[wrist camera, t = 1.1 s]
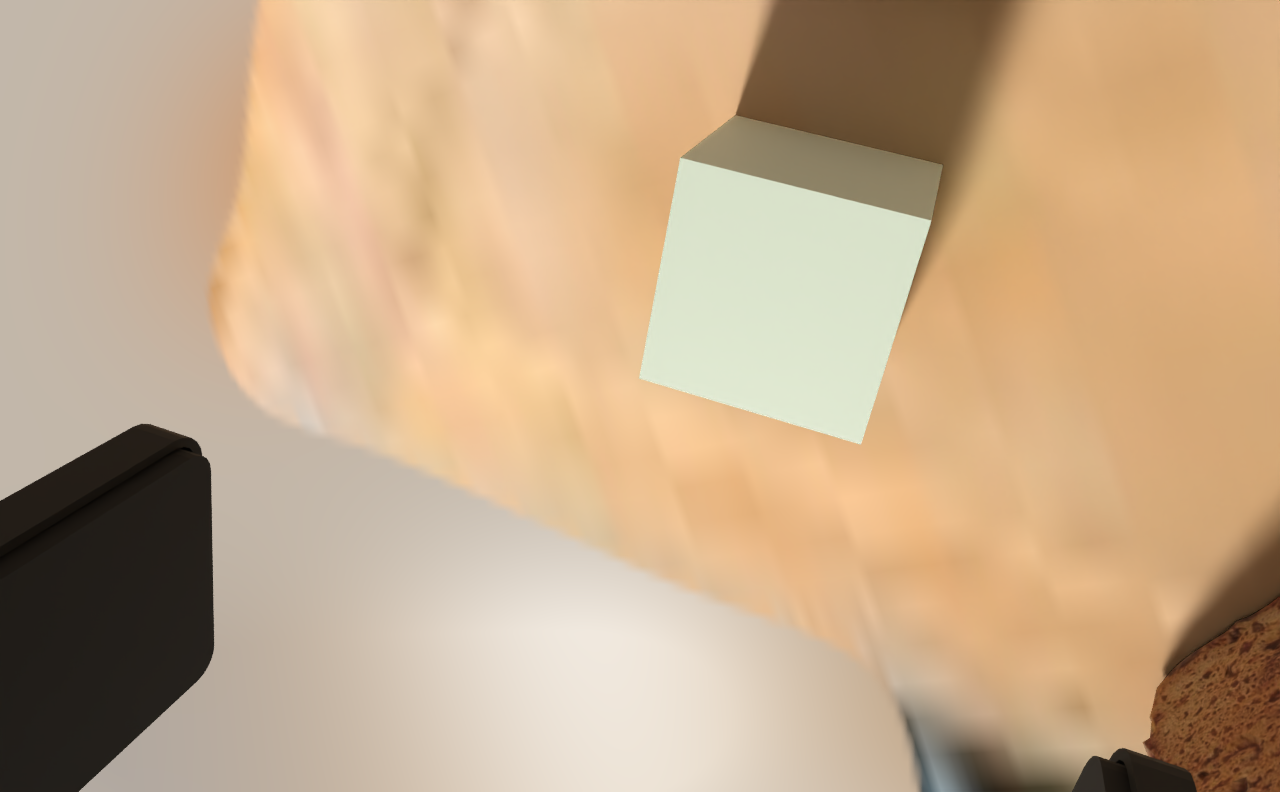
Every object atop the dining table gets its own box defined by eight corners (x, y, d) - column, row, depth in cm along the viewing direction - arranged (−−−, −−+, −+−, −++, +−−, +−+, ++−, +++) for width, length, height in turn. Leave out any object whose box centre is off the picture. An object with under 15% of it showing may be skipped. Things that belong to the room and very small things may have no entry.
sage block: (735, 114, 29) (680, 157, 24) (943, 164, 28) (931, 220, 23) (696, 303, 32) (639, 378, 27) (883, 355, 31) (860, 444, 26)
